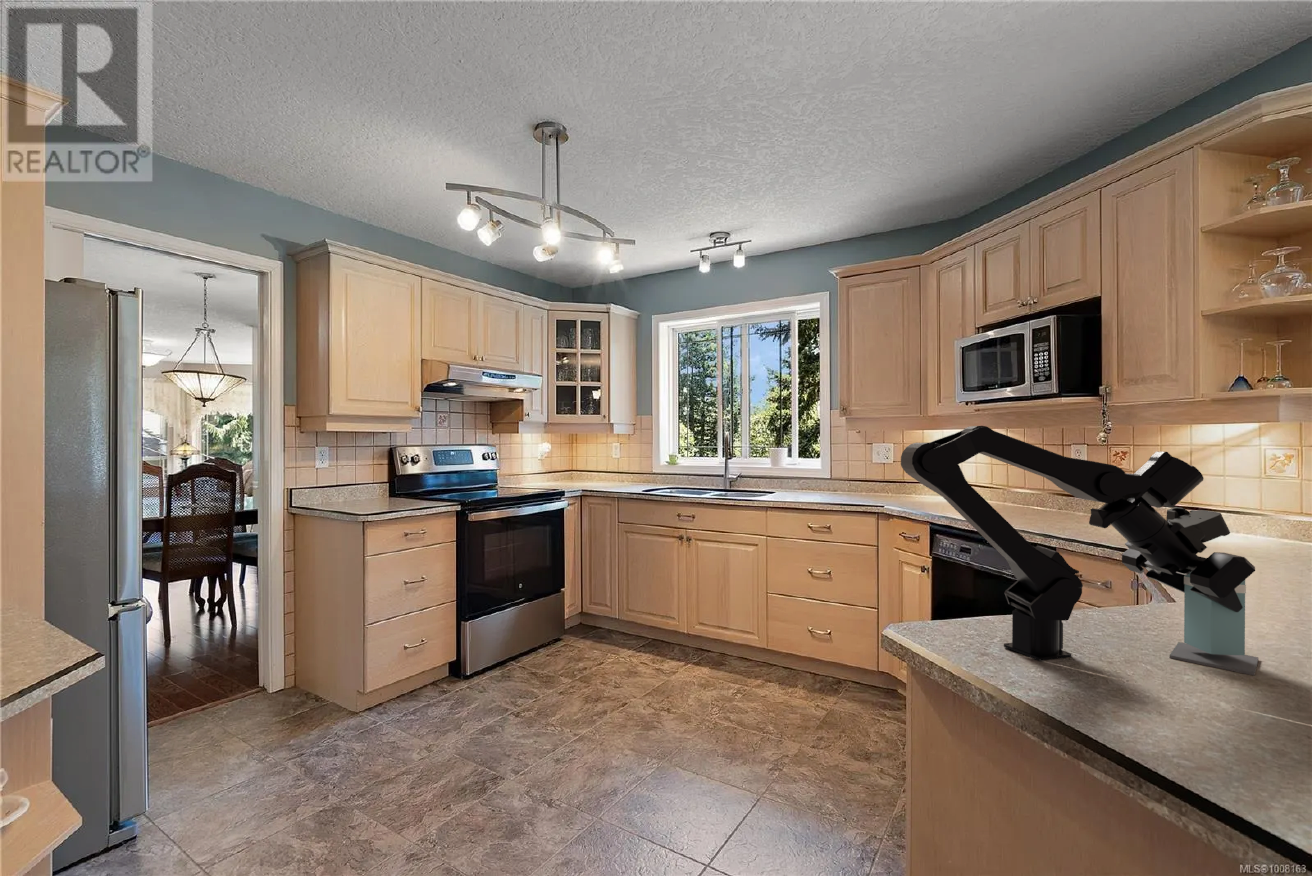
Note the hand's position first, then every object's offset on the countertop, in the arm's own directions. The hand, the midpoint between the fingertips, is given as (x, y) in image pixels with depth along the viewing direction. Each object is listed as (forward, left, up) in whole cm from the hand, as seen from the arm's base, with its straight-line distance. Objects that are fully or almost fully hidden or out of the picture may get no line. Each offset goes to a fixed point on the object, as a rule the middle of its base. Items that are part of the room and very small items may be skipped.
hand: (1223, 604), depth 89 cm
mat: (-1, +1, -8) cm, 8 cm away
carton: (-1, +1, -7) cm, 7 cm away
